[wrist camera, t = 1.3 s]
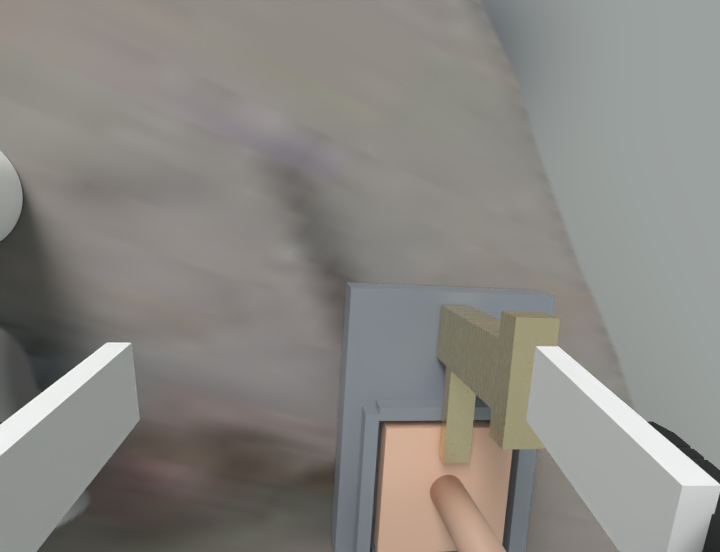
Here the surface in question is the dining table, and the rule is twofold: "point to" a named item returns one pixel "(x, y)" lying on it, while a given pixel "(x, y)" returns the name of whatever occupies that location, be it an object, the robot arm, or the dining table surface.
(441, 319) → the key
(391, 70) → the dining table surface
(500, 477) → the cover
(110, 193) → the dining table surface
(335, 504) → the housing
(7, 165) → the cup
